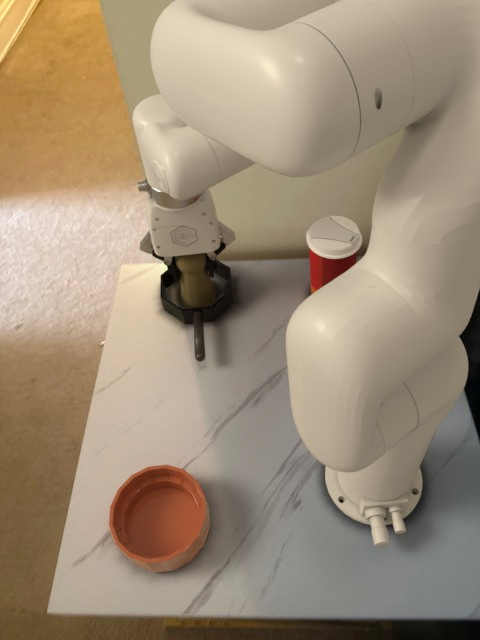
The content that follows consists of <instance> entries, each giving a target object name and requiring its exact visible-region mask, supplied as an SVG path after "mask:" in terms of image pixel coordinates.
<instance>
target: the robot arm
mask: <svg viewBox="0 0 480 640" xmlns="http://www.w3.org/2000/svg"><path fill="white" fill-rule="evenodd" d="M150 39H151V40H150V46H149V47H150V48H149V50H150V51H149V53H150V54H149V55H150V66H151V70H152V74H153V78H154V81H155V85H156V87H157V89H158V91H159V94H153V95H150V96H147V97H145V98H144V99H142V100H141V101H140V102H139V103H137V105H136V106H135V108H134V110H133V113H132V125H133V129H134V135H135V138H136V142H137V146H138V149H139V153H140V157H141V160H142V161H141V162H142V165H143V169H144V174H145V179H143V180H142V181H138V182H137V188H138V192H139V193H143V192H144V193H147V196H146V205H145V206H146V216H147V223H148V231H147V233H146V234H144V237H143V238H142V239H141V241H140V242H139V250H140V252H143V253H146V254H148V255H151V256H152V257H153V258H155V259H158V260H159V261H161V262H163V264H164V265H165V266H166V268H167V269H168V272H169V275H173V278H174V283H178V282H179V281H180V278H179V269H178V267H177V266H176V263H175V256H182V255H191V254H199V253H207V264H208V270H209V271H208V273H209V276H210V278H211V279H213V278H215V273H214V270H218V269H217V260H218V256H219V255H220V254H221V253H222V252H223V251H225V249H226V248H227V246H229V245H231V244H232V243H233V242H234V241H235V240H236V232H235V231H234V230H232V229H231V228H229V226H227V225H225V224H224V223H223V222H221V221H220V220H218V214H217V210H216V206H215V202H214V199H213V195H212V193H211V191H210V189H211V188H213V187H214V186H216V185H218V184H220V183H223V181H225V180H227V179H229V178H231V177H233V176H235V175H237V174H238V173H240V172H243V171H245V170H247V169H249V168H251V167H253V165H256V164H257V165H258V166H261V167H263V168H264V169H267V170H269V171H270V172H273V173H275V174H279V175H280V176H285V177H290V178H305V177H312V176H318V175H320V174H324V173H326V172H328V171H330V170H333V169H334V168H337V167H338V166H340V165H342V164H344V163H345V162H347V161H349V160H350V159H353V158H354V157H356V156H357V155H359V154H361V153H364V151H366V150H368V149H370V148H372V147H374V146H376V145H378V144H379V143H381V142H383V141H384V140H386V139H388V138H390V137H391V136H393V135H395V134H397V133H398V132H400V131H402V130H403V131H402V134H401V137H400V139H399V143H398V144H397V146H396V148H395V151H394V152H393V154H392V156H391V158H390V160H389V162H388V164H387V166H386V168H385V170H384V172H383V174H382V176H381V179H380V181H379V184H378V187H377V190H376V192H375V193H376V194H375V197H374V200H373V206H372V213H371V214H372V215H371V230H370V237H369V241H368V242H369V243H368V245H367V248H366V252H365V254H364V255H363V256H362V257H361V258H360V259H359V260H358V261H356V263H355V265H354V266H352V267H351V268H350V269H349V270H347V271H346V272H344V273H343V274H342V275H340V276H338V277H337V278H335V279H334V280H333V281H331V282H329V283H328V284H326V285H325V286H323V287H322V288H320V289H319V290H317V291H316V292H314V293H313V294H312V295H311V294H310V295H308V297H306V298H305V299H304V300H303V301H302V302H301V303H300V304H299V305H298V306H297V308H296V309H295V310H294V311H293V313H292V315H291V317H290V319H289V321H288V324H287V326H286V331H285V351H286V352H285V353H286V365H287V375H288V376H287V377H288V389H289V390H288V391H289V399H290V407H291V413H292V418H293V421H294V424H295V426H296V429H297V433H298V434H299V437H300V438H301V441H302V443H303V444H304V446H305V447H306V448H307V450H308V451H309V453H310V454H311V455H312V456H313V457H314V458H315V459H316V460H317V461H318V462H320V463H321V464H322V465H324V466H325V468H324V470H325V471H324V478H325V479H324V480H325V485H326V488H327V489H326V490H327V492H328V494H329V496H330V498H331V500H332V502H333V503H334V504H335V506H336V507H337V508H338V509H339V510H340V511H341V512H342V513H343V514H344V515H346V516H347V517H349V518H351V519H352V520H354V521H356V522H359V523H361V524H364V525H368V526H370V529H371V530H370V533H371V536H372V541H373V545H374V547H375V548H381V547H387V546H389V545H391V540H390V536H389V532H388V528H387V526H389V525H392V526H393V531H394V533H395V534H396V535H400V534H405V533H407V528H406V525H405V521H404V519H405V518H406V517H408V516H409V515H410V514H411V513H412V512H413V511H414V510H415V508H416V506H417V504H418V503H419V501H420V499H421V496H422V491H423V475H422V469H421V468H420V467H421V465H422V463H423V460H424V458H425V456H426V454H427V452H428V449H429V448H430V445H431V443H432V441H433V439H434V437H435V434H436V433H437V431H438V429H439V428H440V427H441V424H442V423H443V421H444V420H445V419H446V417H448V414H449V413H450V412H451V410H452V409H453V408H454V406H455V405H456V403H457V402H458V400H459V399H460V397H461V395H462V393H463V391H464V389H465V387H466V384H467V381H468V375H469V358H468V353H467V350H466V348H465V345H464V343H463V341H462V338H461V337H460V336H461V335H462V334H463V332H464V331H465V329H466V328H467V326H468V324H469V323H470V319H471V318H472V314H473V312H474V309H475V305H476V302H477V299H478V295H479V292H480V0H337V1H336V0H173V1H172V2H171V3H170V4H168V6H166V7H165V8H164V9H163V10H162V12H161V13H160V15H159V16H158V17H157V19H156V22H155V24H154V27H153V28H152V33H151V37H150ZM341 501H342V502H341Z"/></svg>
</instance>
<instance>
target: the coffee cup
mask: <svg viewBox="0 0 480 640" xmlns="http://www.w3.org/2000/svg"><path fill="white" fill-rule="evenodd" d="M305 238H306V245H307V246H308V255H309V276H310V295H312V294H313V293H314V292H316V291H317V290H319V289H320V288H322V287H323V286H325V285H326V284H328V283H329V282H331V281H333V280H334V279H335V278H337V277H338V276H340V275H342V274H343V273H344V272H346V271H347V270H349V269H350V268H351V267H352V266H354V265H355V264H356V263H357V258H358V254H359V250H360V248H361V246H362V244H363V236H362V233H361V230H360V228H359V226H358V225H357V224H356V223H355V222H354V221H353V220H351V219H350V218H348V217H345V216H342V215H328V216H325V217H322V218H319V219H318V220H316V221H315V222H313V223H312V224H311V225H310V227H309V228H308V229H307V231H306V233H305Z"/></svg>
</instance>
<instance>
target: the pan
mask: <svg viewBox="0 0 480 640" xmlns="http://www.w3.org/2000/svg"><path fill="white" fill-rule="evenodd" d="M216 260H217V269H218V270H214V275H217V276H218V277H220V278H221V279H223V280H225V281H226V282H228V290H227V291H225V292H224V294H222V295H221V296H220V297H219V298H218V299H217V300H216V301H214V302H213V303H212V304H211V305H209V306H208V307H199V308H182V307H180V306H179V305H177V304H176V303H175V302H173V301H171V300H170V299H169V298H168V289H169V288H170V287H171V286H173V284H175V282H174V278H173V275H169V272H168V268H167V269H166V270H165V271H164V272H163V273H162V274H160V276H159V277H160V286H159V287H160V288H159V289H160V291H159V295H160V301H161V304H162V308H163V311H165V313H167V314H168V315H170V316H172V318H175V319H176V320H178V321H179V322H181V323H182V324H184V325H193V343H194V344H193V345H194V346H193V347H194V359H195V360H196V361H197V362H199V363H202V362H203V361H205V359H206V342H205V326H204V323H211V322H216V321H217V320H218V319H219V318H220V317H221V316H222V315H223V314H224V313H226V311H227V310H229V309H230V307H231V306H232V305H234V303H235V295H234V286H233V278H232V270H231V267H230V266H229V265H227V264H225V263H223V262H221V261H220V260H218V259H216ZM206 267H207V270H208V264H207V263H206ZM208 272H209V270H208ZM179 279H181V276H180V270H179Z"/></svg>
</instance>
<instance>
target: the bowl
mask: <svg viewBox="0 0 480 640" xmlns="http://www.w3.org/2000/svg"><path fill="white" fill-rule="evenodd" d="M210 513H211V512H210V507H209V504H208V501H207V498H206V495H205V493H204V491H203V489H202V487H201V485H200V483H199V481H198V479H196V478H195V477H194V476H193V475H191V473H189V471H186V470H185V469H184V468H180V467H177V466H174V465H171V464H159V465H151V466H147V467H145V468H143V469H141V470H139V471H137V472H135V473H133V474H131V475H130V476H129V477H128V478H127V479H126V480H125V481H124V482H123V483H122V484H121V486H119V487H118V488H117V491H116V493H115V496H114V498H113V499H112V502H111V504H110V507H109V519H108V527H109V531H110V534H111V536H112V539H113V542H114V544H115V546H116V547H117V548H118V549H119V551H120V552H121V553H122V554H123V555H124V556H125V557H126V558H127V559H128V560H129V561H130V562H131V563H132V564H133V565H134V566H135V567H137V568H140V569H142V570H145V571H147V572H152V573H154V574H155V573H164V572H165V573H166V572H173V571H176V570H178V569H179V568H181V567H183V566H185V565H187V564H188V563H191V561H193V559H194V558H195V557H196V556H197V554H198V553H200V551H201V550H202V549H203V547H204V546H205V543H206V541H207V537H208V535H209V532H210V529H211V516H210V515H211V514H210Z"/></svg>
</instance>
